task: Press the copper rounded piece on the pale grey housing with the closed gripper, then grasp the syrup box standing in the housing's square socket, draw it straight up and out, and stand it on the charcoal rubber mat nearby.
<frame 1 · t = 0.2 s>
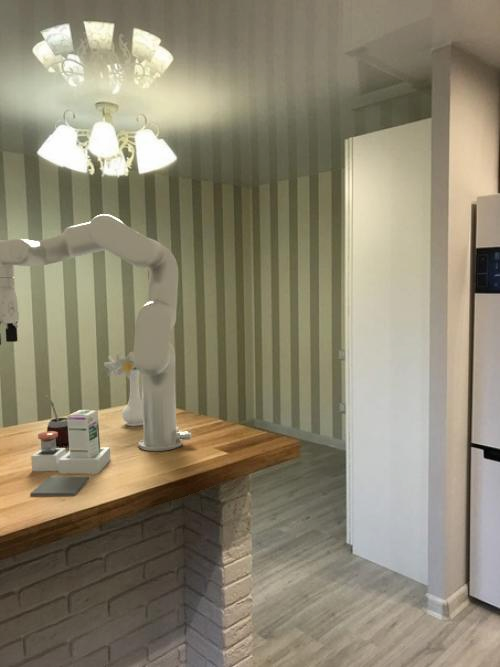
hand: (3, 343, 152), 31 cm above the countertop, tool pointing down, fingers open, 9 cm apart
copper rounded piece: (48, 444, 136), point 6 cm above the countertop, slide at 0.0 cm
mat: (61, 487, 123), on the countertop
mate gourd: (59, 446, 155), on the countertop
flower vase: (133, 424, 178), on the countertop
housing: (85, 466, 136), on the countertop
syrup box: (85, 467, 137), resting in housing
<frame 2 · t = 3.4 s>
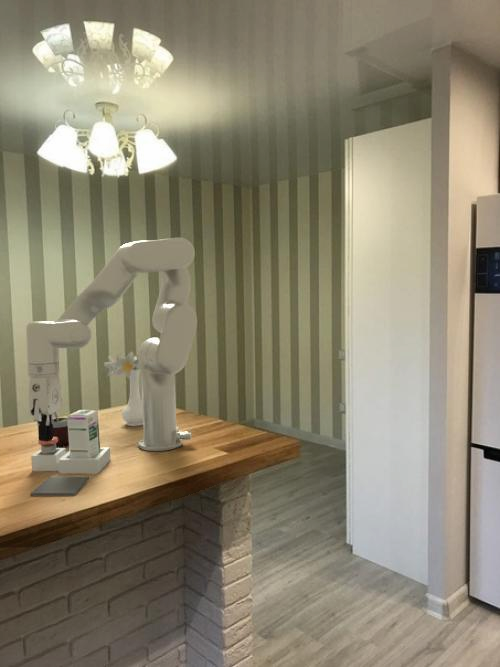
hand: (46, 439, 136), 7 cm above the countertop, tool pointing down, fingers closed
copper rounded piece: (48, 450, 136), point 4 cm above the countertop, slide at 1.5 cm, touching gripper
everything else where it was.
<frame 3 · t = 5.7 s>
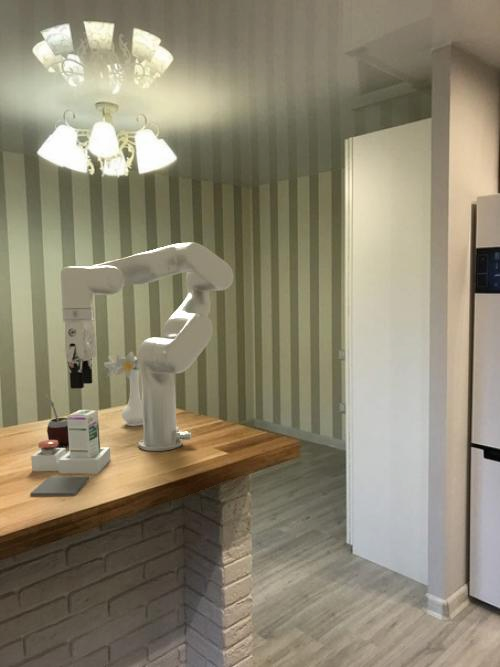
hand: (81, 385, 135), 22 cm above the countertop, tool pointing down, fingers open, 5 cm apart
copper rounded piece: (48, 453, 136), point 4 cm above the countertop, slide at 2.3 cm
everything else where it was.
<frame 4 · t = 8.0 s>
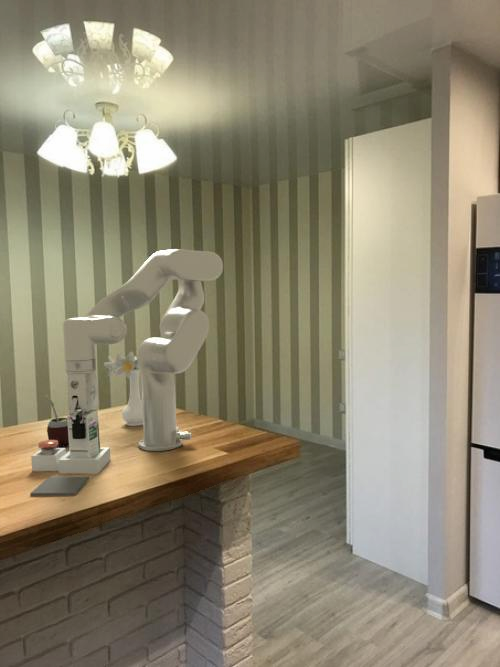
hand: (84, 434, 136), 9 cm above the countertop, tool pointing down, fingers closed on syrup box, 6 cm apart
syrup box: (85, 467, 137), resting in housing, touching gripper
everything else where it was.
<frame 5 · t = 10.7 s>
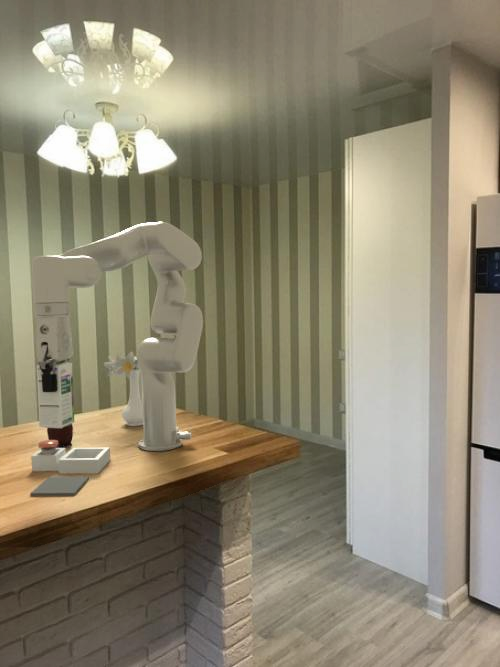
hand: (56, 388, 121), 23 cm above the countertop, tool pointing down, fingers closed on syrup box, 6 cm apart
syrup box: (56, 425, 121), point 15 cm above the countertop, touching gripper
everything else where it was.
when the fingers open (10 cm above the countertop, at t = 13.6 s): syrup box stays where it is, resting on mat.
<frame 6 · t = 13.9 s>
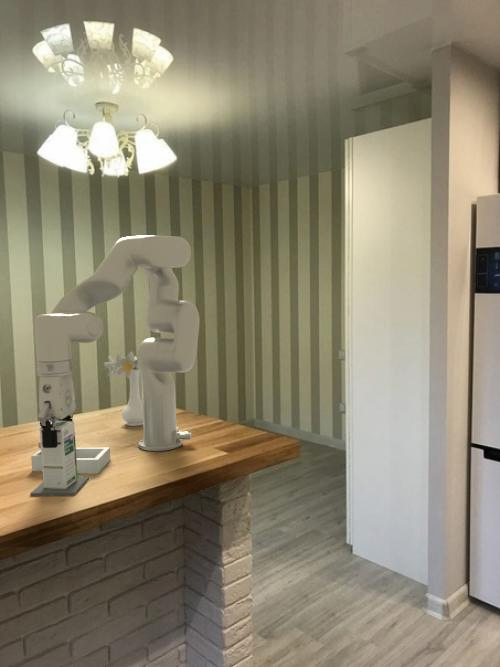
hand: (58, 441, 122), 11 cm above the countertop, tool pointing down, fingers open, 9 cm apart
syrup box: (60, 485, 123), resting on mat
everything else where it was.
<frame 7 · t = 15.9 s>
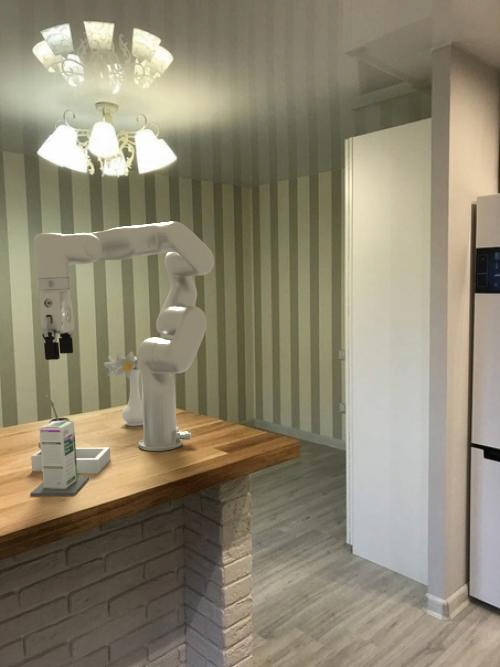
hand: (59, 356, 128), 30 cm above the countertop, tool pointing down, fingers open, 9 cm apart
nothing on the countertop moved.
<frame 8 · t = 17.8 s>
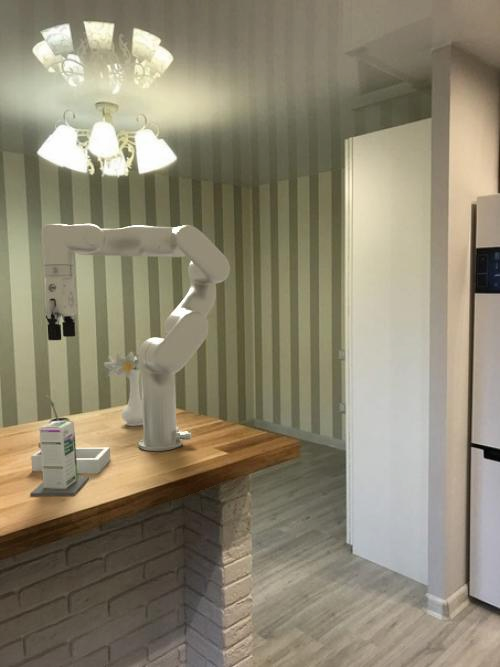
hand: (62, 338, 138), 33 cm above the countertop, tool pointing down, fingers open, 9 cm apart
nothing on the countertop moved.
at the end: syrup box inside the target area on the mat (0.3 cm from its centre), point 0.4 cm above the mat's base; syrup box tilted 0°; copper rounded piece slide at 2.3 cm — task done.
